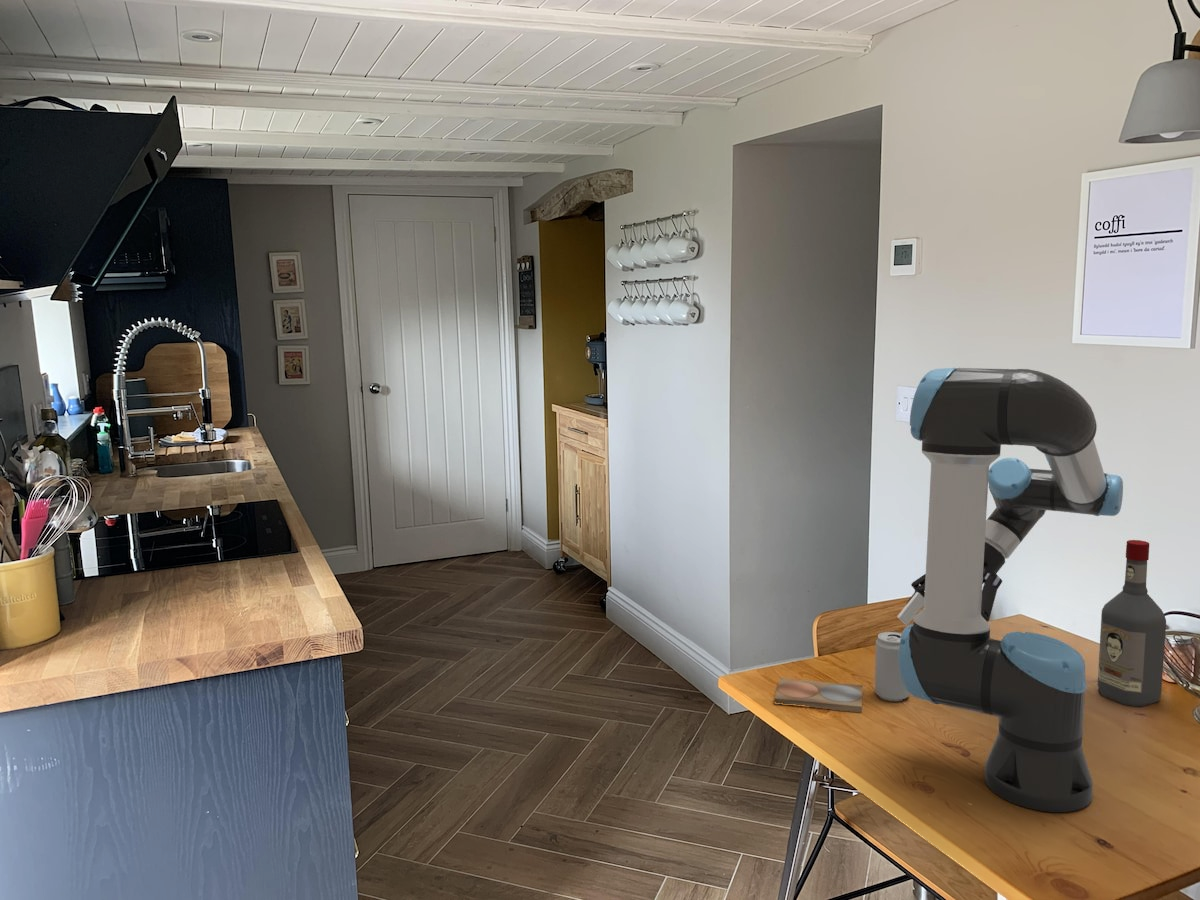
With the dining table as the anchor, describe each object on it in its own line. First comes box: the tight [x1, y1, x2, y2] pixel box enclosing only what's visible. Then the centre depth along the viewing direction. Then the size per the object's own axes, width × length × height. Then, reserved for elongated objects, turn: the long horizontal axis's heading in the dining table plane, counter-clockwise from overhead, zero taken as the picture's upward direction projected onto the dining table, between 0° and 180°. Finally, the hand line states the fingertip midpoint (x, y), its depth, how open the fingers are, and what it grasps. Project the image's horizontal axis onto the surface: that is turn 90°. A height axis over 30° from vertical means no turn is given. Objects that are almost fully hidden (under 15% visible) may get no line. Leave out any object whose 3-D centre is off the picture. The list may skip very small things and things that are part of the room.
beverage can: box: [874, 631, 910, 702], centre depth 175 cm, size 6×6×12 cm
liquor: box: [1097, 539, 1167, 708], centre depth 171 cm, size 9×9×30 cm
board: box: [774, 677, 864, 714], centre depth 176 cm, size 10×16×1 cm, turn 73°
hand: (923, 632), depth 177 cm, fingers open, 13 cm apart
